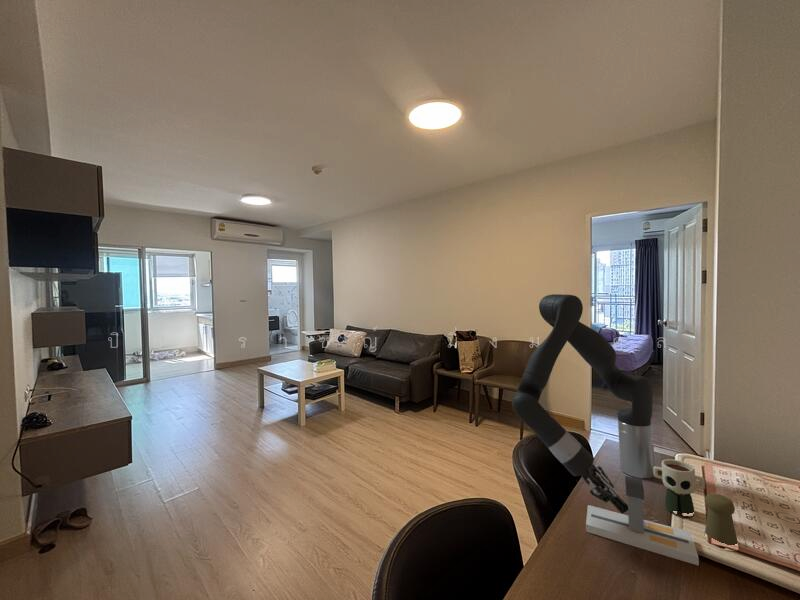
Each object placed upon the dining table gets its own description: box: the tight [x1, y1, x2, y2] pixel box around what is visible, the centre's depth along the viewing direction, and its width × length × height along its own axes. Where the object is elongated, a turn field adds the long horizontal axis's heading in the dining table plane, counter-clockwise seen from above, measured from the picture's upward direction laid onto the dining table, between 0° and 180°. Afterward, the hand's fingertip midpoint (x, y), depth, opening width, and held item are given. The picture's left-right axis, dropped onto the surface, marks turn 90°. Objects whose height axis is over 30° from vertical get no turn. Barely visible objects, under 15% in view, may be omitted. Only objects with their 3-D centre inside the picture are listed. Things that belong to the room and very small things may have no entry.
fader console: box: [585, 504, 700, 567], centre depth 83 cm, size 22×9×2 cm, turn 57°
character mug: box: [653, 458, 706, 514], centre depth 91 cm, size 11×7×13 cm, turn 49°
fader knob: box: [624, 475, 645, 533], centre depth 83 cm, size 4×6×11 cm, turn 147°
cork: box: [704, 493, 739, 545], centre depth 80 cm, size 6×6×11 cm
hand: (625, 510), depth 84 cm, fingers closed
